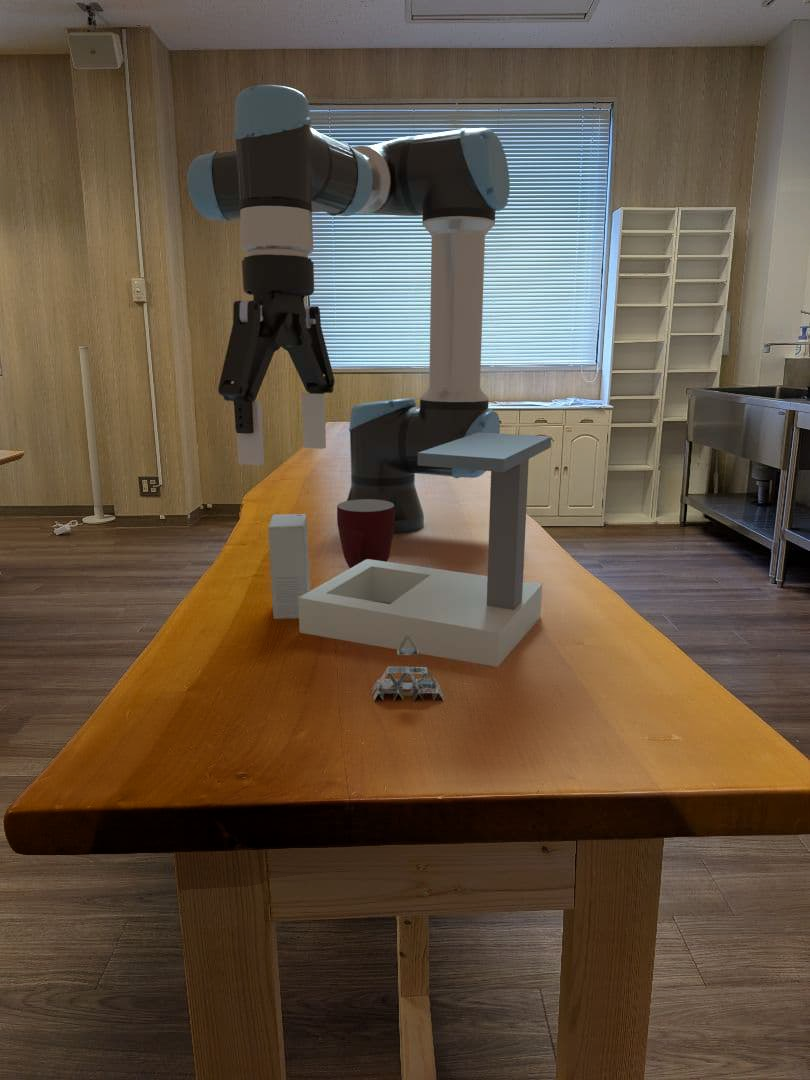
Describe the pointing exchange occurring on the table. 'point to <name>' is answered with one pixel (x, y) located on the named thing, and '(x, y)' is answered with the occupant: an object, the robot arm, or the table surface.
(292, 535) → the skincare box
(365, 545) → the mug
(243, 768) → the table surface
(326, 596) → the socket block
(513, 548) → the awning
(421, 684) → the house of cards
